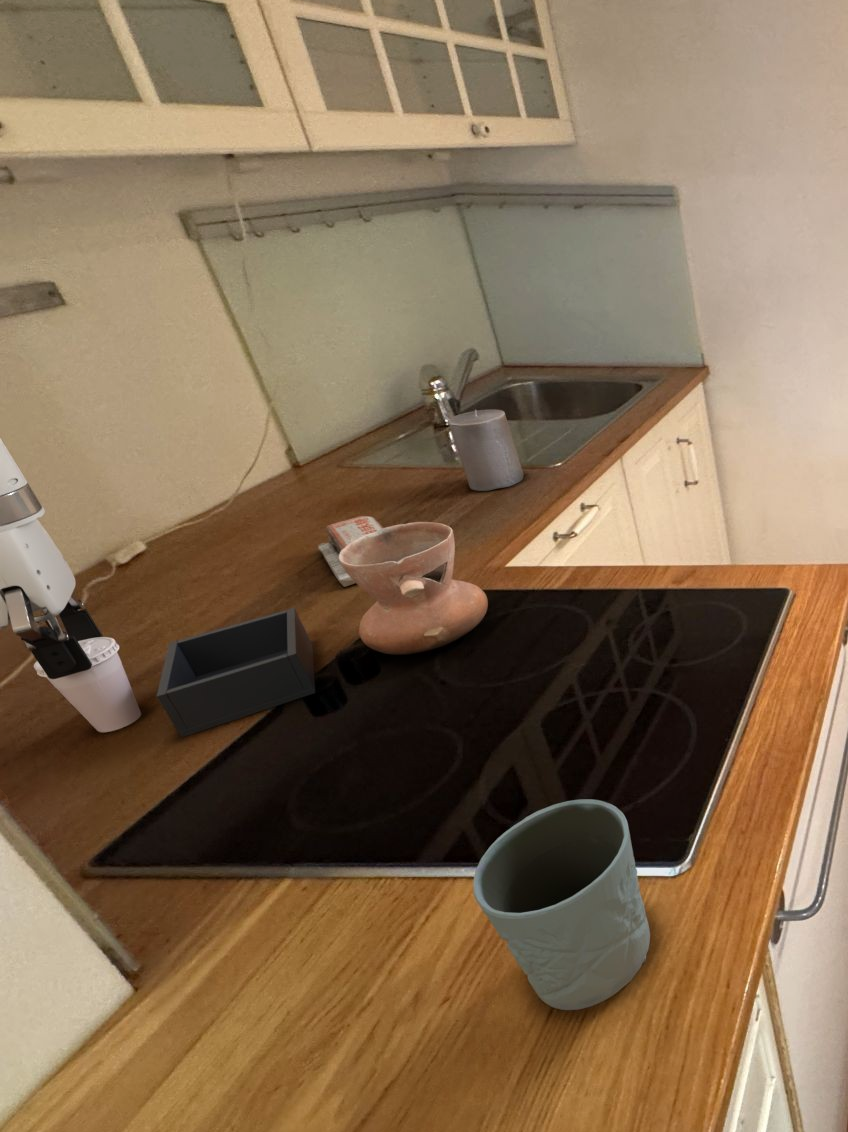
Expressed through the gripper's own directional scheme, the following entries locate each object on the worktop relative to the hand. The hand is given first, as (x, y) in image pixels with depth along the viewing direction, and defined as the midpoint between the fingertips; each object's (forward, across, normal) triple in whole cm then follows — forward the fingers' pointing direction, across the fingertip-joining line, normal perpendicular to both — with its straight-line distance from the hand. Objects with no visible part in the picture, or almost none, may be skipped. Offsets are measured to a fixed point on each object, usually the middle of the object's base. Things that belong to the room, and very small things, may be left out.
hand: (77, 657), depth 85 cm
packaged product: (+9, -30, +26) cm, 41 cm away
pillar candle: (+9, -53, +49) cm, 73 cm away
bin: (+9, +2, +12) cm, 15 cm away
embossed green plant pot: (+9, +67, +34) cm, 76 cm away
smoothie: (+9, 0, 0) cm, 9 cm away
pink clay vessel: (+9, +3, +31) cm, 32 cm away
